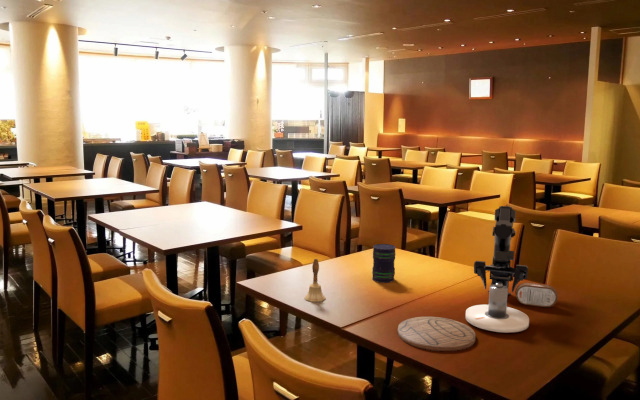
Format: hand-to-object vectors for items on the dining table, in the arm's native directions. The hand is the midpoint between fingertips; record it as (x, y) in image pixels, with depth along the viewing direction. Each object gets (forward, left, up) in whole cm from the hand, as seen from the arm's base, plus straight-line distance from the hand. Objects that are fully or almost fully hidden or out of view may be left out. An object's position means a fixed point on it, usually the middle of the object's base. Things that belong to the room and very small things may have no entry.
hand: (498, 290), depth 191 cm
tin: (-21, -2, -10) cm, 24 cm away
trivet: (+32, +6, -10) cm, 34 cm away
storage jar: (+16, -53, -10) cm, 56 cm away
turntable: (+6, +6, -9) cm, 12 cm away
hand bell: (+54, -42, -10) cm, 69 cm away
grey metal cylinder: (+6, +6, -6) cm, 10 cm away
